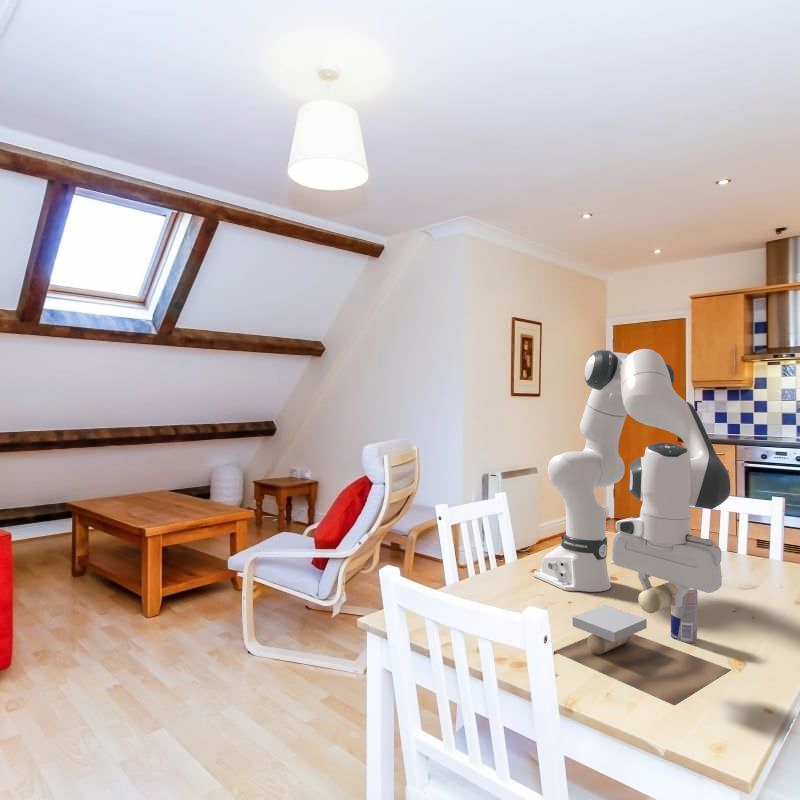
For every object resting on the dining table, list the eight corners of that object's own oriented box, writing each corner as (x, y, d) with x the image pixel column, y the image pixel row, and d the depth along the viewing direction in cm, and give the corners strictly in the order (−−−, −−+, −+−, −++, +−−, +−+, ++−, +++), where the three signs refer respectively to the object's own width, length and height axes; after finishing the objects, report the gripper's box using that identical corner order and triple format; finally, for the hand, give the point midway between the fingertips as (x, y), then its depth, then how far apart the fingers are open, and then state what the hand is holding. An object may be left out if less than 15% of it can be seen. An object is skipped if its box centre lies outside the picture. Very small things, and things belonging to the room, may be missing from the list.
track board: (553, 656, 122) (553, 632, 122) (613, 630, 135) (613, 609, 135) (674, 710, 101) (674, 682, 101) (731, 674, 114) (731, 649, 114)
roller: (637, 609, 109) (638, 588, 109) (666, 598, 115) (666, 578, 114) (658, 616, 105) (658, 594, 105) (685, 604, 111) (686, 584, 111)
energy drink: (674, 632, 134) (674, 581, 134) (699, 638, 131) (700, 586, 131) (667, 639, 130) (668, 586, 130) (693, 646, 127) (694, 592, 127)
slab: (572, 626, 124) (572, 616, 124) (605, 613, 131) (605, 604, 131) (614, 642, 116) (614, 632, 116) (646, 628, 123) (646, 618, 123)
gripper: (729, 539, 103) (727, 615, 104) (626, 516, 120) (624, 582, 120) (712, 544, 99) (710, 623, 100) (608, 520, 116) (606, 588, 116)
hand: (662, 601), depth 110 cm, fingers closed on roller, 4 cm apart
